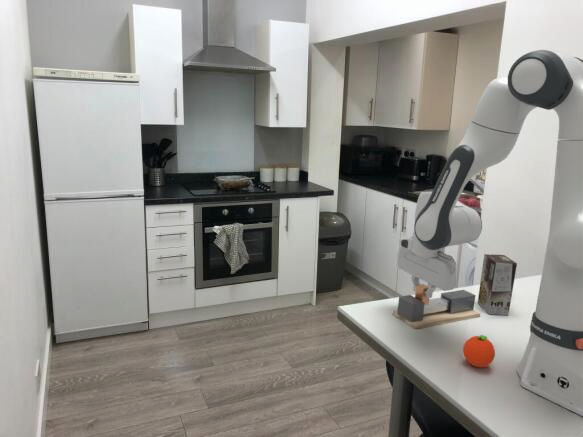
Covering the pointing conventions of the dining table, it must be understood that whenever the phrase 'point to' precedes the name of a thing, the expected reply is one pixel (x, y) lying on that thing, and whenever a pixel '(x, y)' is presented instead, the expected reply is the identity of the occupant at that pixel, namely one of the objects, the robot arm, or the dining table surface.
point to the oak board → (439, 318)
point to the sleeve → (460, 301)
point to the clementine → (479, 351)
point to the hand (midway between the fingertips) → (422, 294)
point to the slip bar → (431, 301)
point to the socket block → (410, 308)
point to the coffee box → (496, 284)
